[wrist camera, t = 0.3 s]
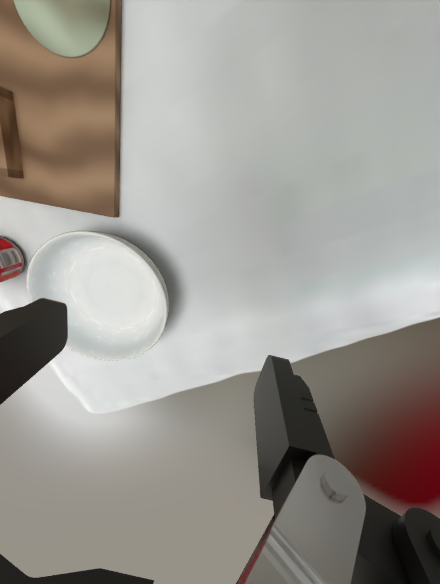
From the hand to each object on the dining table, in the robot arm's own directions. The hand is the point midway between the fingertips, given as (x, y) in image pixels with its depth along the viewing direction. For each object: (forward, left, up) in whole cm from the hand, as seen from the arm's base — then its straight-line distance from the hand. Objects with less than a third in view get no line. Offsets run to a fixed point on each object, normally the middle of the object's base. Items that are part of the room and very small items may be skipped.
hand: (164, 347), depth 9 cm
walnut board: (-15, -28, -29) cm, 43 cm away
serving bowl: (+12, -15, -30) cm, 35 cm away
